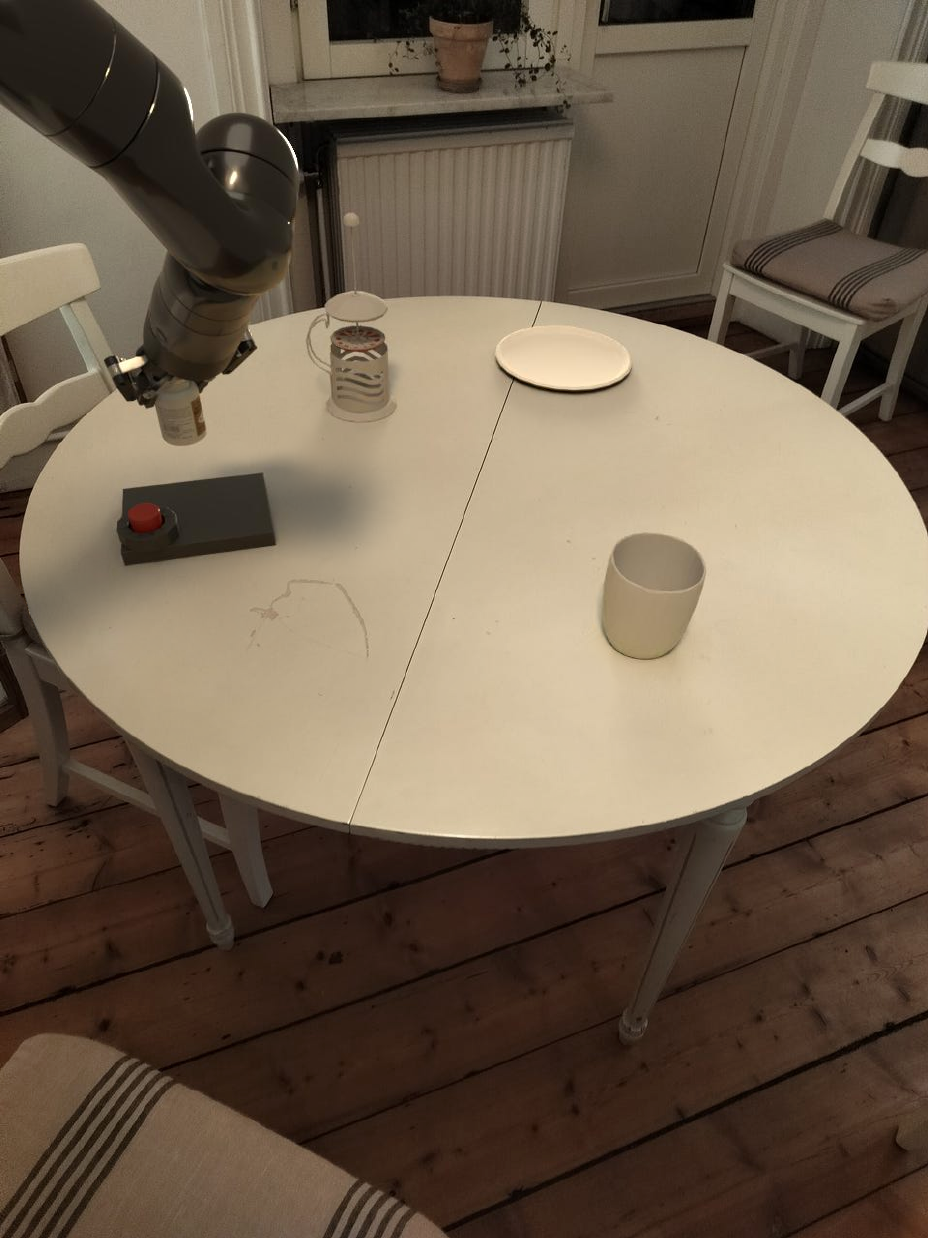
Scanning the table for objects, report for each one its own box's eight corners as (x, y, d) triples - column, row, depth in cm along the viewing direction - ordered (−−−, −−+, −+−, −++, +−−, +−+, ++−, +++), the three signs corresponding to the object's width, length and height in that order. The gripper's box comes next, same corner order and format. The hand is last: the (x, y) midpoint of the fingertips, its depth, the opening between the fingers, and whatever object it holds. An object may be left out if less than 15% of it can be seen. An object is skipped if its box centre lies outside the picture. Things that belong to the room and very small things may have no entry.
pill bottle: (212, 441, 84) (198, 370, 79) (169, 451, 83) (151, 379, 77) (200, 421, 87) (186, 351, 82) (158, 430, 85) (140, 359, 80)
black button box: (124, 569, 89) (115, 543, 86) (126, 501, 97) (118, 476, 95) (276, 548, 92) (272, 522, 90) (265, 484, 101) (261, 459, 98)
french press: (394, 423, 112) (389, 229, 95) (307, 419, 112) (287, 224, 95) (399, 387, 119) (395, 201, 102) (318, 384, 119) (301, 197, 102)
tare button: (131, 535, 88) (127, 522, 86) (131, 518, 90) (127, 504, 89) (163, 531, 88) (159, 518, 87) (162, 514, 91) (159, 501, 89)
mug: (696, 665, 81) (722, 588, 74) (608, 673, 80) (626, 596, 73) (654, 580, 90) (674, 505, 83) (575, 587, 89) (588, 511, 82)
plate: (506, 325, 135) (507, 317, 135) (634, 340, 133) (636, 333, 132) (483, 385, 121) (483, 377, 120) (627, 404, 118) (628, 396, 117)
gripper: (257, 256, 71) (219, 339, 86) (90, 293, 64) (80, 375, 80) (294, 339, 72) (250, 407, 87) (132, 383, 65) (115, 448, 80)
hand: (169, 391), depth 83 cm, fingers closed on pill bottle, 4 cm apart
